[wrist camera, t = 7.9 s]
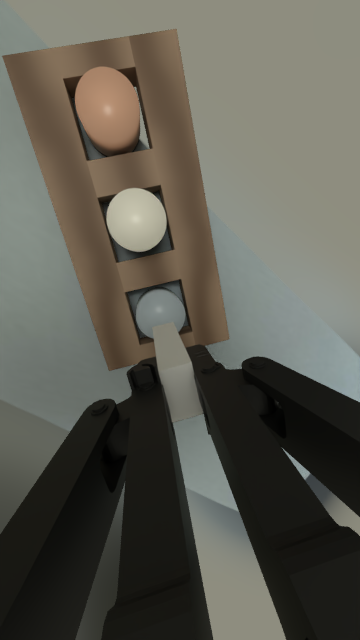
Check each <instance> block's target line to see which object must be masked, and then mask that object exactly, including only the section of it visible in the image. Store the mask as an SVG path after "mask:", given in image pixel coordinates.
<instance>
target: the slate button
mask: <svg viewBox="0 0 360 640" xmlns="http://www.w3.org/2000/svg"><path fill="white" fill-rule="evenodd" d="M136 321H137V324H138V327H139V328H140V330H141V331H142V332H143V333H144V334H145V335H147V336H148V337H150V338H153V339H154V337H153V330H152V327H155V326H159V325H163V324H167V323H170V322H174V325H175V327H176V329H177V331H178V332H179V331H180V330H181V328H182V326H183V324H184V321H185V309H184V306H183V304H182V303H181V301H180V300H179V299H178V297H177V296H176V295H175V294H174V293H173V292H172V291H171V290H169V289H166V288H163V287H155V288H151V289H149V290H147V291H146V292H144V293H143V294H142V295H141V297H140V298H139V300H138V303H137V310H136Z"/></svg>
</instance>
